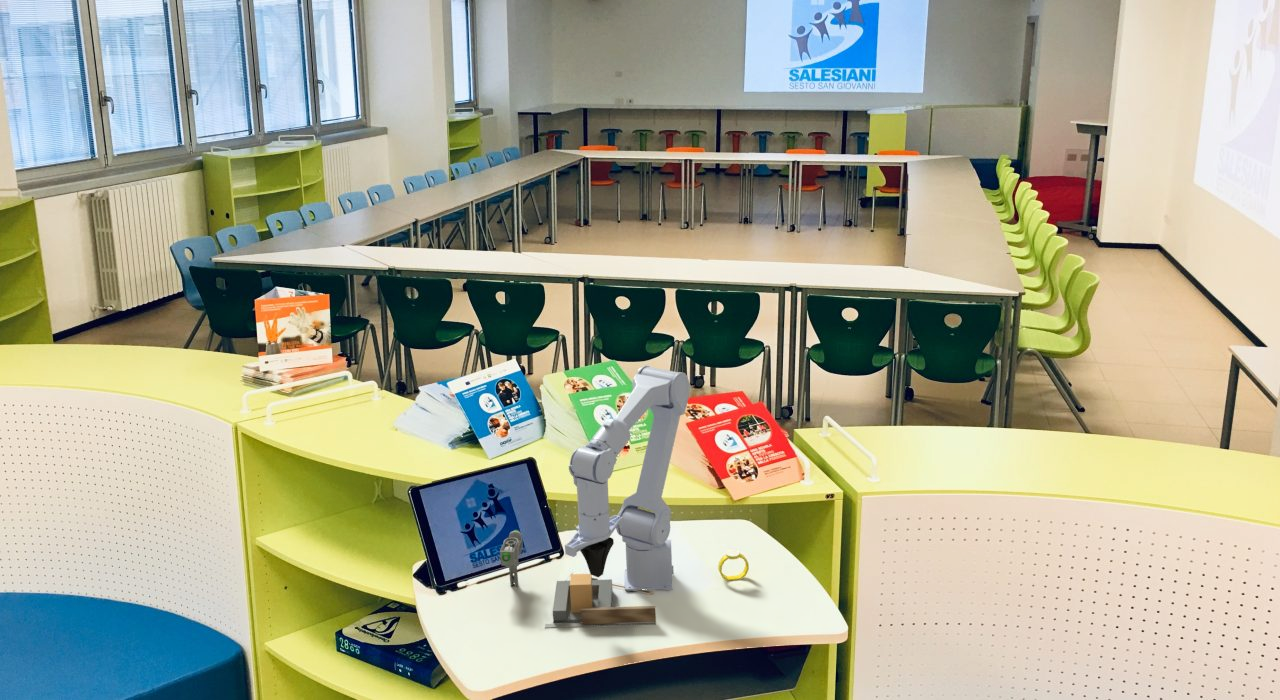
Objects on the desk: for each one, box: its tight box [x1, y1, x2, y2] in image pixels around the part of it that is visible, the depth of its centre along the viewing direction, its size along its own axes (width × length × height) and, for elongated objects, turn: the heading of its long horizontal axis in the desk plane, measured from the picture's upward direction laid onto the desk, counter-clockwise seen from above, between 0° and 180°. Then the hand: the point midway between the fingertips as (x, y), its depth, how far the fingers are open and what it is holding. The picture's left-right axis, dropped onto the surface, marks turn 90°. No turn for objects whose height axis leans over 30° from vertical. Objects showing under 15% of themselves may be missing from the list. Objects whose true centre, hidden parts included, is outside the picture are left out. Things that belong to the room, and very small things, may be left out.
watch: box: [717, 549, 750, 582], centre depth 220 cm, size 6×3×6 cm, turn 99°
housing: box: [544, 579, 657, 629], centre depth 212 cm, size 21×13×3 cm, turn 90°
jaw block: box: [569, 573, 593, 613], centre depth 211 cm, size 4×4×6 cm
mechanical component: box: [499, 529, 524, 587], centre depth 220 cm, size 3×10×10 cm, turn 174°
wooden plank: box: [581, 605, 657, 624], centre depth 206 cm, size 14×1×3 cm, turn 90°
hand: (596, 574), depth 206 cm, fingers closed
